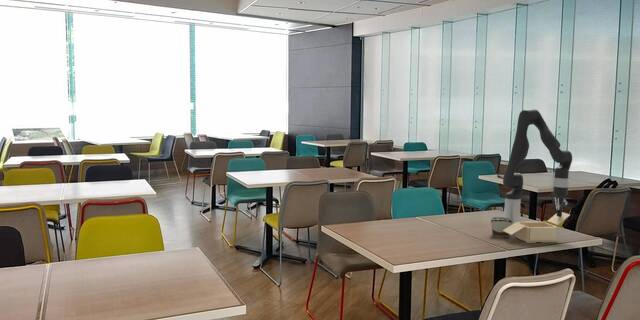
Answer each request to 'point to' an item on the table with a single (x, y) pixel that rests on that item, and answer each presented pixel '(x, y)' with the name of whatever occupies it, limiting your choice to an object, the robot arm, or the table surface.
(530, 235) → the carton
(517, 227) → the flap front
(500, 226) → the food container
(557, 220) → the flap back
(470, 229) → the table surface
